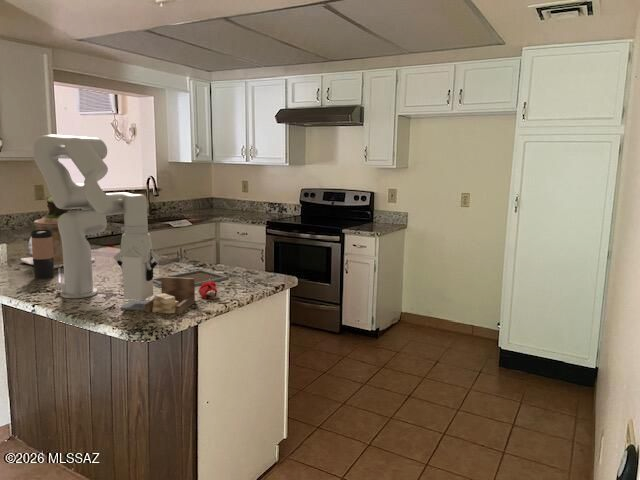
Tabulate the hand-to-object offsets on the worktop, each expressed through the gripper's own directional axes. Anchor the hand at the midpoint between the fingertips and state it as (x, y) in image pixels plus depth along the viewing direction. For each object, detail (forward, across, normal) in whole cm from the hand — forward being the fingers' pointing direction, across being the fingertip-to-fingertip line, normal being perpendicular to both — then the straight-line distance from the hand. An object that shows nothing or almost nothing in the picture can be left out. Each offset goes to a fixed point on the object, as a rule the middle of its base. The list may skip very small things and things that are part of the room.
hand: (138, 279), depth 170 cm
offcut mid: (+8, +11, -4) cm, 15 cm away
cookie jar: (+10, -68, +59) cm, 90 cm away
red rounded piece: (+10, +20, +16) cm, 27 cm away
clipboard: (+11, +4, +37) cm, 39 cm away
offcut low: (+10, +11, -4) cm, 16 cm away
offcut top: (+6, +11, -4) cm, 13 cm away
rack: (+10, +11, 0) cm, 15 cm away
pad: (+10, 0, 0) cm, 10 cm away
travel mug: (+10, -56, +31) cm, 65 cm away
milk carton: (+7, 0, 0) cm, 7 cm away
